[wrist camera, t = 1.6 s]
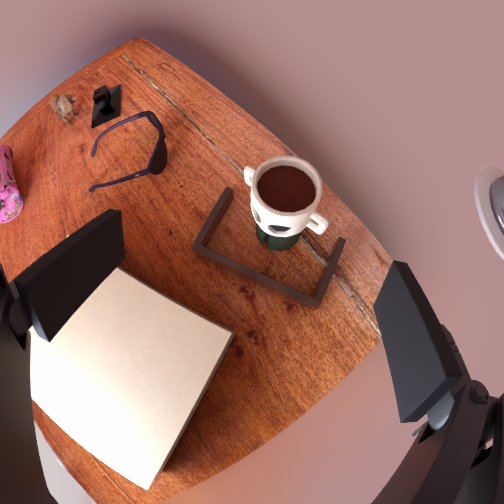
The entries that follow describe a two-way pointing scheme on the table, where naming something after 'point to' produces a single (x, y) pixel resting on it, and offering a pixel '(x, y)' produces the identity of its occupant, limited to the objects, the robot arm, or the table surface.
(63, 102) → the lion figurine
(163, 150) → the sunglasses
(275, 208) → the character mug
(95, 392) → the cream square platform
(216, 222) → the dark brown u-shaped bracket
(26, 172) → the table surface
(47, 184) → the table surface
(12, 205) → the pencil case
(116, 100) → the build plate
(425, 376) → the robot arm
